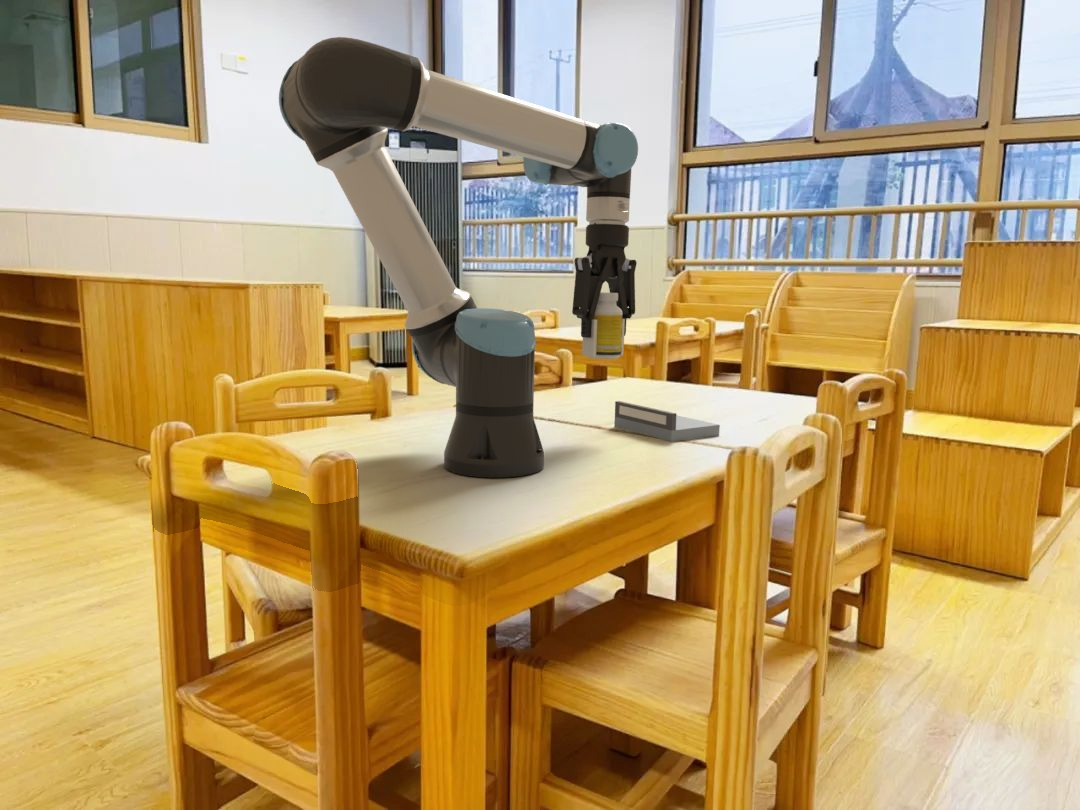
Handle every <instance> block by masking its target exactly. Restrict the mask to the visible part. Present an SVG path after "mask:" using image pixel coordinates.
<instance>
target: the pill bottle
mask: <svg viewBox="0 0 1080 810" xmlns="http://www.w3.org/2000/svg"><path fill="white" fill-rule="evenodd" d="M616 301H618V293H610V292H602V291H601V292H600V296H599V300H598V303H597V307H596V311H595V315H594V318H593V319H595V320H597V345H596V357H589V356H586V357H587V358H589V359H597V360H599V359H600V360H616V359H619V358H621V357H622V355H621V346H622V318H623V312H622V310H621V309H620V308H619V307H618V306H617V305H616ZM588 311H589V310H588Z"/></svg>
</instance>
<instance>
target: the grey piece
mask: <svg viewBox="0 0 1080 810" xmlns="http://www.w3.org/2000/svg"><path fill="white" fill-rule="evenodd" d="M720 426H721V425H720V424H717V423H714V422H708V421H704V420H699V419H695V418H691V417H686V416H682V415H677V413H676V412H672V411H666V410H662V409H657V408H653V407H648V406H644V405H639V404H635V403H631V402H626V401H620V400H616V401H615V403H614V428H617V429H621V430H625V431H629V432H633V433H636V434H641V435H645V436H647V437H652V438H656V439H660V440H664V441H668V442H679V441H686V440H694V439H702V438H710V437H717V436H720V429H721V428H720Z"/></svg>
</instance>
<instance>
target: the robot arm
mask: <svg viewBox="0 0 1080 810" xmlns="http://www.w3.org/2000/svg"><path fill="white" fill-rule="evenodd" d="M278 106H279V110H280V113H281V117H282V119H283V121H284V123H285V124H286V126H287V127H288V129H289V130H290V131H291V132H292V133H293V134H294V135H295V137H296V136H297V138H299V140H302V141H303V142H304V143H305V144H306V147H307V148H308V151H310V155H312V157H313V159H314V161H315V162H316V164H317V165H318V166H320V167H322V168H325V169H327V170H328V169H329V170H330V171H331V172H333V174H334V176H335V178H336V180H337V183H338V184H339V186H340V188H341V190H342V192H343V193H344V195H345V197H346V199H347V201H348V203H349V204H350V207H351V208H352V210H353V212H354V213H355V216H356V217H357V219H358V221H359V223H360V225H361V226H362V228H363V230H364V232H365V234H366V236H367V237H368V241H369V242H370V243H371V245H372V248H373V249H374V251H375V253H376V254H377V257H378V259H379V261H380V263H381V264H382V266H383V268H384V269H385V271H386V273H387V275H388V277H389V278H390V281H391V283H392V285H393V287H394V288H395V291H396V293H397V294H398V296H399V298H400V299H401V301H402V303H403V305H404V307H405V310H406V311H407V317H406V320H405V323H404V327H405V329H406V331H407V333H408V334H409V336H410V338H411V340H412V342H411V349H412V355H413V359H414V360H415V363H416V364H417V366H418V368H420V370H421V371H422V372H423V373H424V374H425V375H427V377H429V378H430V379H432V380H433V381H435V382H437V383H440V384H442V385H447V386H451V387H455V418H454V421H453V424H452V427H451V430H450V433H449V435H448V439H447V442H446V446H445V448H444V451H443V467H444V469H446V470H448V471H449V472H451V473H455V474H458V475H461V476H462V475H463V476H468V477H469V476H470V477H477V478H478V477H479V478H513V477H521V476H527V475H528V476H529V475H532V474H536V473H538V472H541V471H542V470H543V469H544V468H545V451H544V448H543V444H542V441H541V438H540V435H539V431H538V429H537V428H538V427H537V425H536V421H535V416H534V405H535V404H534V402H535V400H534V397H535V396H534V394H535V358H536V357H535V355H536V354H535V353H536V351H535V348H536V344H537V341H536V332H535V324H534V322H533V320H532V318H531V317H530V316H527V315H526V314H524V313H522V312H521V313H520V312H518V311H512V310H504V309H498V308H486V307H485V308H483V307H480V308H478V307H477V305H476V302H475V301H474V299H473V297H472V295H471V293H470V292H469V291H466V290H463V289H460V288H458V287H456V286H457V285H455V282H454V280H453V278H452V276H451V275H450V273H449V270H448V269H447V267H446V264H445V263H444V260H443V259H442V256H441V255H440V252H439V251H438V248H437V247H436V245H435V243H434V241H433V239H432V237H431V235H430V233H429V231H428V228H427V227H426V225H425V223H424V221H423V219H422V217H421V215H420V213H419V210H418V209H417V207H416V204H415V203H414V201H413V199H412V198H411V197H412V196H411V195H410V193H409V191H408V190H407V187H406V185H405V183H404V181H403V178H401V175H400V174H399V172H398V170H397V167H396V165H395V164H394V161H393V159H392V157H391V156H390V153H389V152H388V149H387V148H386V143H385V142H386V139H387V135H388V131H389V129H393V130H395V131H400V132H406V131H408V130H409V129H411V128H412V127H415V128H419V129H421V130H424V131H425V130H426V131H428V132H432V133H436V134H439V135H442V136H447V137H450V138H455V139H458V140H461V141H465V142H468V143H472V144H476V145H480V146H484V147H486V148H490V149H494V150H498V151H501V152H504V153H508V154H513V155H515V156H518V157H519V156H520V157H523V158H522V159H523V171H524V174H525V176H526V178H527V179H528V180H529V181H530V182H532V183H537V184H544V185H545V186H547V185H557V186H570V187H571V186H572V187H580V188H586V211H585V212H586V215H585V216H586V218H585V220H586V222H588V223H589V224H587V225H586V226H585V245H586V246H587V247H588V251H587V253H586V256H583V257H575V258H574V259H573V260H574V268H575V278H574V279H575V280H574V286H573V287H574V289H573V301H572V309H571V310H572V311H571V312H572V315H573V316H576V317H577V319H580V321H581V322H580V336H581V338H582V347H581V348H582V352H581V357H587V356H589V357H596V345H597V320H595V319H593V318H594V315H595V311H596V307H597V303H598V300H599V296H600V292H602V287H603V285H604V284H605V282H606V283H607V284H608V289H609V293H618V301H616V305H617V306H618V307H619V308H620V309H621V310H622V312H623V318H622V346H621V356H624V352H625V351H624V350H625V348H624V347H625V336H626V333H627V319H628V320H629V319H631V318H632V316H633V315H635V314H636V285H635V282H636V281H635V277H636V276H635V275H636V273H635V271H636V268H637V264H638V263H637V261H636V259H628V258H626V253H625V248H626V247H628V246H629V236H630V235H629V234H630V227H629V226H628V225H626V223H628V222H629V221H630V201H631V200H630V199H631V185H632V184H631V181H632V168H633V166H634V165H635V163H636V162H637V159H638V153H639V143H638V139H637V136H636V135H635V133H634V132H633V130H632V129H631V128H630V127H629V126H628V125H626V124H624V123H621V122H607V123H604V124H598V123H595V122H592V121H588V120H586V119H583V118H577V117H575V116H571V115H568V114H565V113H562V112H559V111H556V110H553V109H550V108H546V107H544V106H541V105H537V104H535V103H531V102H528V101H525V100H522V99H520V98H516V97H513V96H509V95H506V94H503V93H500V92H497V91H494V90H492V89H489V88H485V87H483V86H479V85H476V84H473V83H469V82H467V81H464V80H461V79H457V78H454V77H451V76H448V75H445V74H442V73H439V72H435V71H433V70H430V69H426V68H425V66H424V63H423V61H422V59H420V58H418V57H416V56H413V55H410V54H407V53H404V52H400V51H398V50H394V49H392V48H388V47H386V46H383V45H380V44H376V43H372V42H369V41H365V40H362V39H358V38H354V37H353V38H352V37H345V36H344V37H343V36H342V37H341V36H338V37H329V38H326V39H322V40H321V41H318V42H316V43H315V44H314V45H312V46H311V47H310V48H309V49H308V50H307V51H306V52H305V53H304V55H302V56H301V57H300V58H299V59H297V60H296V61H294V62H293V63H292V64H291V65H290V66H289V68H288V69H287V70H286V72H285V74H284V76H283V78H282V80H281V84H280V87H279V92H278ZM588 310H589V311H588ZM589 357H588V358H589Z"/></svg>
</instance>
